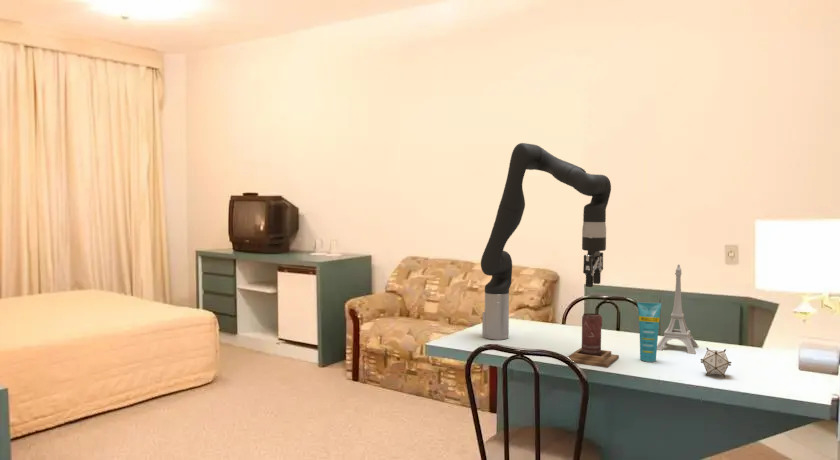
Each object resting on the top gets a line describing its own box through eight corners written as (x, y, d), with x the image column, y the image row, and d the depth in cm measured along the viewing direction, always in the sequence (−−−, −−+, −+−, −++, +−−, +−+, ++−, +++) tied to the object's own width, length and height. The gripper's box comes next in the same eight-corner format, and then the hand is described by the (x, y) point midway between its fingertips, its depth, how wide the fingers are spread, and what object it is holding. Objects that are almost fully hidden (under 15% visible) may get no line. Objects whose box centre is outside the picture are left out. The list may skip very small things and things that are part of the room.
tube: (636, 361, 207) (637, 302, 206) (636, 357, 212) (637, 300, 211) (660, 363, 205) (661, 304, 204) (659, 359, 209) (661, 301, 209)
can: (602, 359, 205) (602, 316, 205) (581, 358, 206) (582, 315, 206) (601, 355, 211) (601, 313, 210) (581, 354, 212) (581, 312, 212)
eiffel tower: (659, 342, 235) (661, 262, 234) (698, 346, 229) (700, 264, 227) (654, 350, 223) (656, 265, 222) (695, 354, 217) (697, 267, 216)
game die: (707, 386, 192) (689, 356, 196) (733, 376, 192) (714, 346, 197) (716, 379, 184) (697, 348, 188) (743, 368, 184) (723, 337, 189)
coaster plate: (564, 361, 206) (564, 354, 206) (577, 352, 218) (577, 345, 218) (607, 367, 199) (607, 359, 199) (618, 358, 211) (618, 350, 211)
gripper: (589, 234, 215) (588, 282, 216) (576, 236, 203) (575, 286, 203) (611, 235, 211) (610, 283, 212) (599, 237, 199) (598, 288, 199)
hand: (593, 285), depth 208 cm, fingers open, 8 cm apart
